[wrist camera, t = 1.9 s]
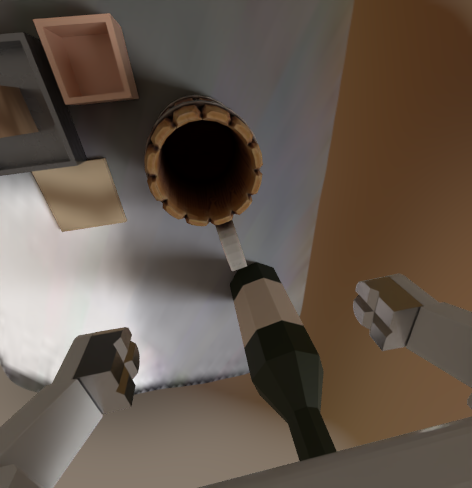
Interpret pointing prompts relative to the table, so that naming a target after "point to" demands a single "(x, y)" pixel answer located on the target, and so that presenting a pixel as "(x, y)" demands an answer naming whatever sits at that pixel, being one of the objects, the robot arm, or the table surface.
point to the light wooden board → (81, 195)
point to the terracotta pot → (88, 58)
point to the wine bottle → (281, 357)
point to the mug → (204, 167)
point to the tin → (36, 110)
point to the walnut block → (14, 113)
